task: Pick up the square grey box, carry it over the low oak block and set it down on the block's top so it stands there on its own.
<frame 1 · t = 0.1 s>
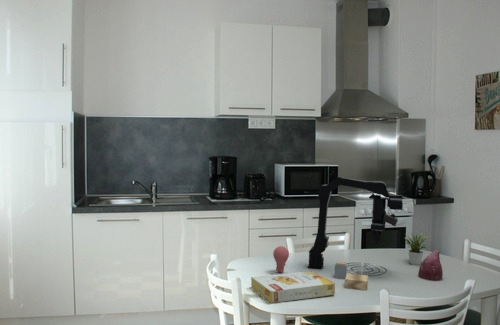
hand: (377, 242, 224), 15 cm above the table, fingers open, 9 cm apart
cereal box: (291, 293, 195), on the table
grey box: (340, 276, 217), on the table
light bulb: (280, 272, 222), on the table
block: (356, 286, 205), on the table
house plant: (417, 263, 244), on the table
vegetable: (430, 278, 220), on the table
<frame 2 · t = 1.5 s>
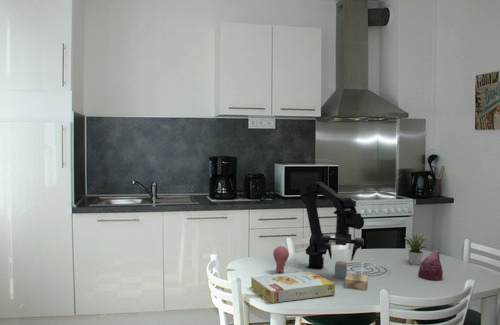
hand: (341, 259, 217), 8 cm above the table, fingers open, 9 cm apart
nothing on the table moved.
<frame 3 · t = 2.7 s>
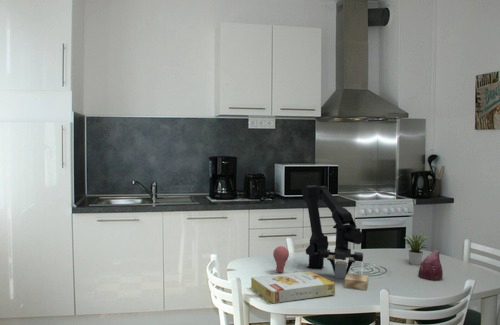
hand: (340, 274, 217), 1 cm above the table, fingers closed on grey box, 5 cm apart
grey box: (340, 276, 217), on the table, touching gripper
everything else where it was.
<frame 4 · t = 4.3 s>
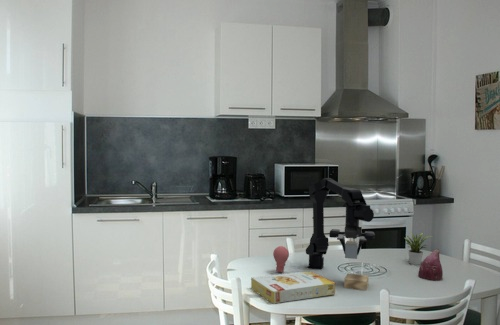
hand: (351, 254, 209), 12 cm above the table, fingers closed on grey box, 5 cm apart
grey box: (351, 257, 209), point 11 cm above the table, touching gripper
everything else where it was.
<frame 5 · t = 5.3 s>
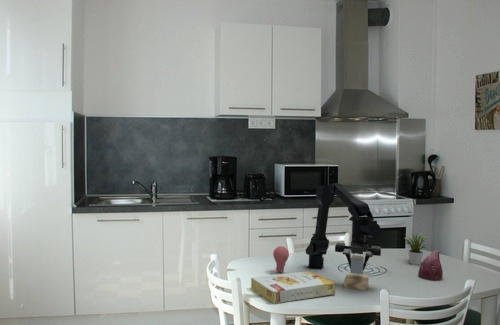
hand: (357, 269, 204), 7 cm above the table, fingers closed on grey box, 5 cm apart
grey box: (356, 272, 204), point 6 cm above the table, touching gripper
everything else where it was.
when the fingers open (6 cm above the table, at t = 5.9 s): grey box stays where it is, resting on block.
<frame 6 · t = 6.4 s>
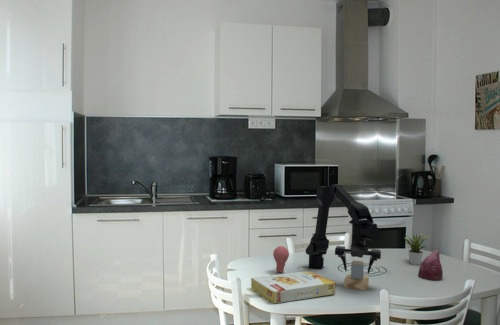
hand: (357, 272, 204), 6 cm above the table, fingers open, 9 cm apart
grey box: (357, 277, 204), point 4 cm above the table, touching block
block: (356, 286, 205), on the table, touching grey box
everything else where it was.
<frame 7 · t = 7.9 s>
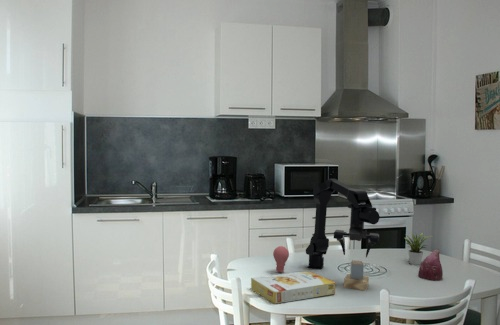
hand: (355, 255, 207), 12 cm above the table, fingers open, 9 cm apart
nothing on the table moved.
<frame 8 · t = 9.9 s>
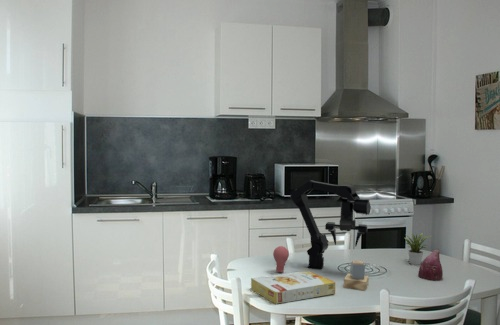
hand: (345, 245, 224), 13 cm above the table, fingers open, 9 cm apart
grey box: (357, 277, 204), point 4 cm above the table
block: (356, 286, 204), on the table
everything else where it was.
at the end: grey box 0.4 cm off-centre on the block, point 4.0 cm above the block's base; grey box tilted 1°; the gripper is holding nothing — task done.
